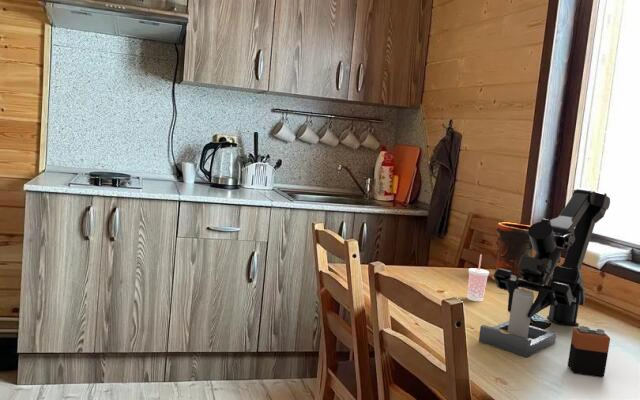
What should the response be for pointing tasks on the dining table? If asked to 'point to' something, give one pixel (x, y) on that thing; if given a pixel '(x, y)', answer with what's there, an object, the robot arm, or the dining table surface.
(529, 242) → the vessel
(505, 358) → the dining table surface
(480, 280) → the beverage cup
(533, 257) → the robot arm
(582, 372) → the battery
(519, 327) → the beverage can
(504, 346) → the grey shallow tray
